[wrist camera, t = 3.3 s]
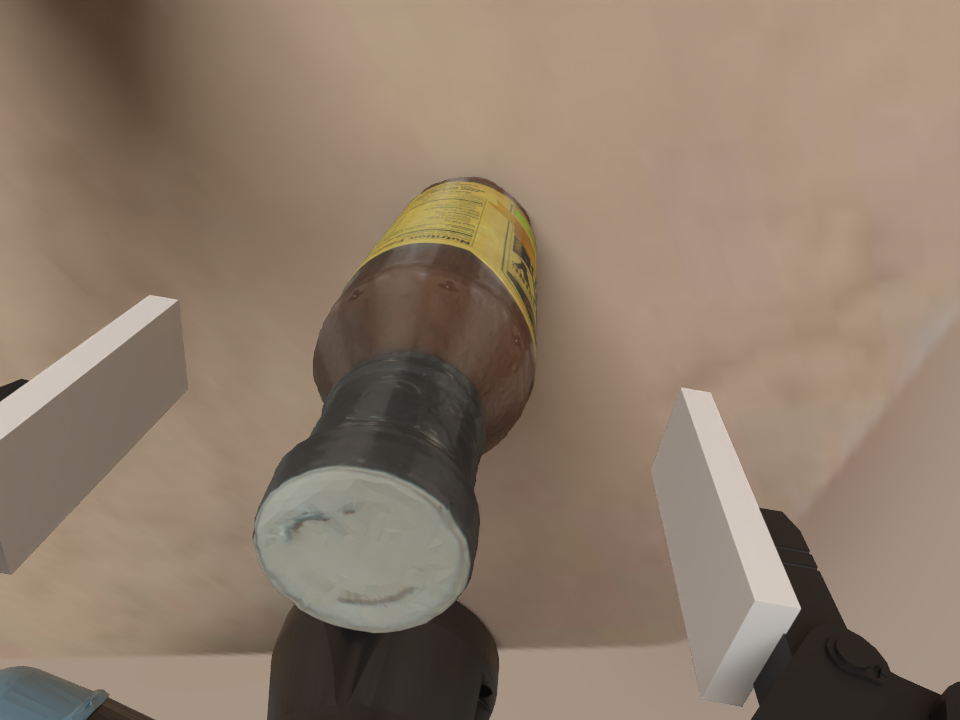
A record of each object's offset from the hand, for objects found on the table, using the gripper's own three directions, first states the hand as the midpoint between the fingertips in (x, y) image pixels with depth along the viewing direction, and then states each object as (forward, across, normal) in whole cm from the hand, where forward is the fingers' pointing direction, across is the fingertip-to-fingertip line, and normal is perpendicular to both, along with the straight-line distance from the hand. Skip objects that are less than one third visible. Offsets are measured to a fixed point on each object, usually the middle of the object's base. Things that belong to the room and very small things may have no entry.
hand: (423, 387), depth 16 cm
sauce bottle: (+14, 0, 0) cm, 14 cm away
